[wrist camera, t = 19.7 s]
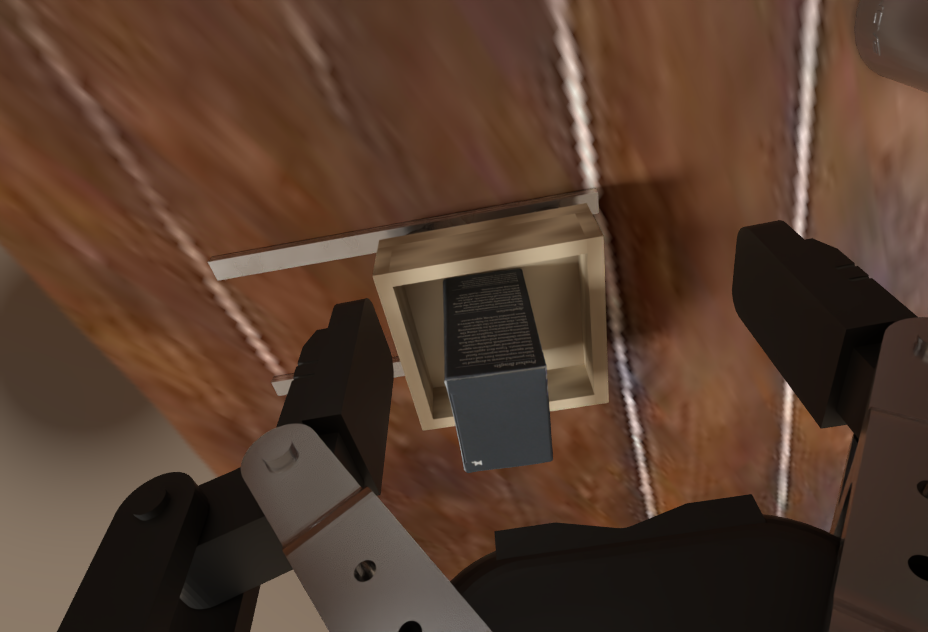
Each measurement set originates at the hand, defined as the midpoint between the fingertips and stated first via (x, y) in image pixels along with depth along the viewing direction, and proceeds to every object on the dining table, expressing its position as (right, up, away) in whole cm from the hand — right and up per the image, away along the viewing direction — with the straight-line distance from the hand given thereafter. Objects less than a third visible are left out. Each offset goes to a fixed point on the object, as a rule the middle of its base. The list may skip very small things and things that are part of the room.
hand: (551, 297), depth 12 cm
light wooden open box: (0, +2, +30) cm, 31 cm away
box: (0, 0, +28) cm, 28 cm away
